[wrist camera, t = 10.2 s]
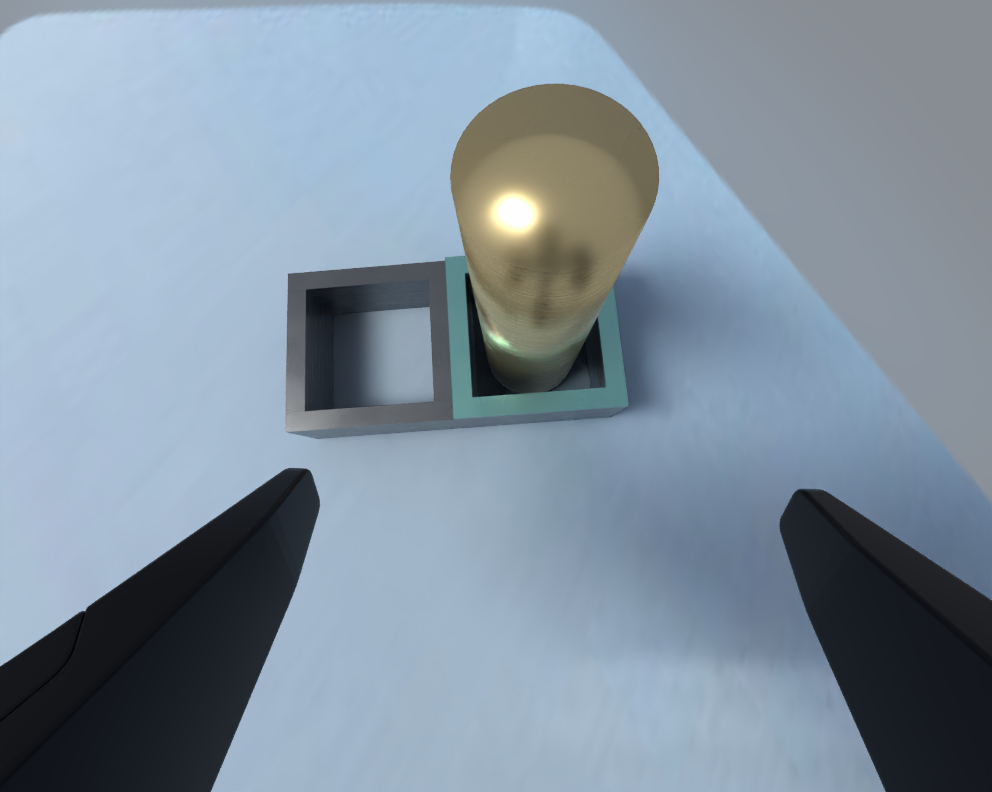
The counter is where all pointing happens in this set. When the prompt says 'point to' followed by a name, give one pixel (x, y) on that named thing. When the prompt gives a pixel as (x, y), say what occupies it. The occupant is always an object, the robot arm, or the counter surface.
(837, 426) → the counter surface
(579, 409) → the hole rail
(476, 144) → the brass post
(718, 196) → the counter surface
